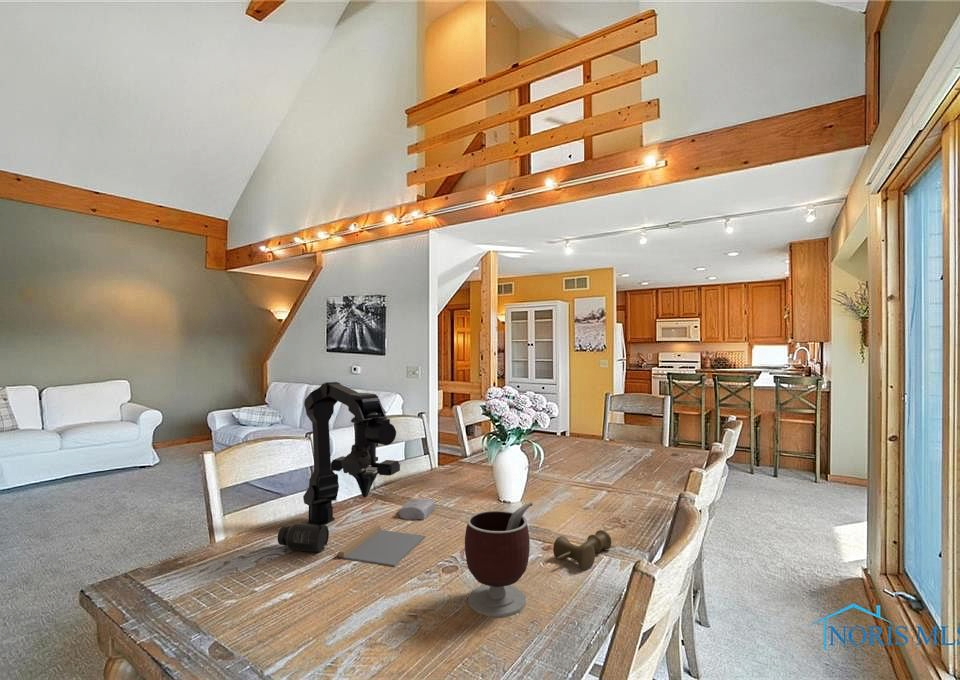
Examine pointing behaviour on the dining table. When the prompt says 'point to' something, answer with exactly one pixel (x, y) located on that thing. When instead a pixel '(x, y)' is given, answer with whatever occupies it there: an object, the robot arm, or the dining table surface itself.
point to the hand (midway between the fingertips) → (365, 496)
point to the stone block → (417, 509)
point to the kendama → (582, 548)
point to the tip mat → (381, 546)
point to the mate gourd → (497, 560)
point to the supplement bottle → (304, 537)
